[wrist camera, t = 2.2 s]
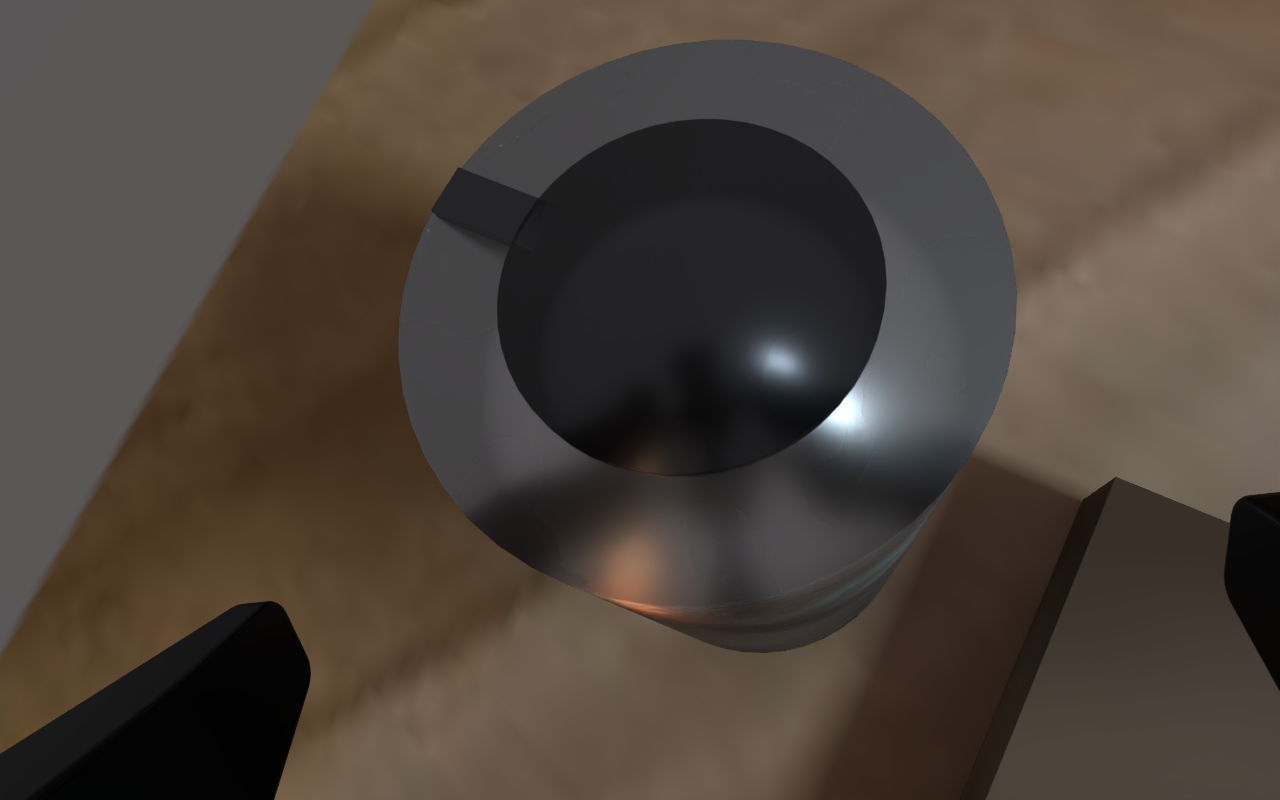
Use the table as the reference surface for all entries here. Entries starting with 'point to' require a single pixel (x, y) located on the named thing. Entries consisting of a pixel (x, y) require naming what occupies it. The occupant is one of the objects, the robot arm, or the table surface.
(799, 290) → the silver metal cylinder
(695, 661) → the table surface
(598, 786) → the table surface
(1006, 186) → the table surface
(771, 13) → the table surface
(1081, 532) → the walnut board
